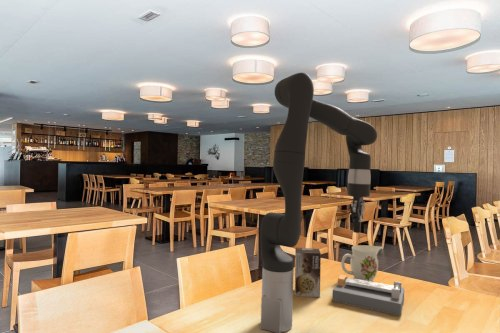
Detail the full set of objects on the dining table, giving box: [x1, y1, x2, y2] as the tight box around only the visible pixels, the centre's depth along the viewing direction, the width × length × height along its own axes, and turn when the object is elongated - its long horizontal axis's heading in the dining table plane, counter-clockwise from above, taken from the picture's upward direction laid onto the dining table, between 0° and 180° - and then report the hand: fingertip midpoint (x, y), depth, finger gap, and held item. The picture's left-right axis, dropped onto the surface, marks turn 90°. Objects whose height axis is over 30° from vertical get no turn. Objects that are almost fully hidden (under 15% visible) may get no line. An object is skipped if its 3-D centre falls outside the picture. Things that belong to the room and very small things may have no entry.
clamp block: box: [331, 276, 405, 317], centre depth 121 cm, size 16×22×7 cm
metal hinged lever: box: [345, 276, 400, 293], centre depth 120 cm, size 6×18×2 cm, turn 62°
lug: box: [337, 274, 348, 286], centre depth 125 cm, size 5×2×2 cm, turn 152°
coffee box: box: [294, 247, 322, 298], centre depth 125 cm, size 9×6×16 cm
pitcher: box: [340, 244, 384, 282], centre depth 141 cm, size 11×18×14 cm, turn 99°
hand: (356, 232), depth 118 cm, fingers closed
